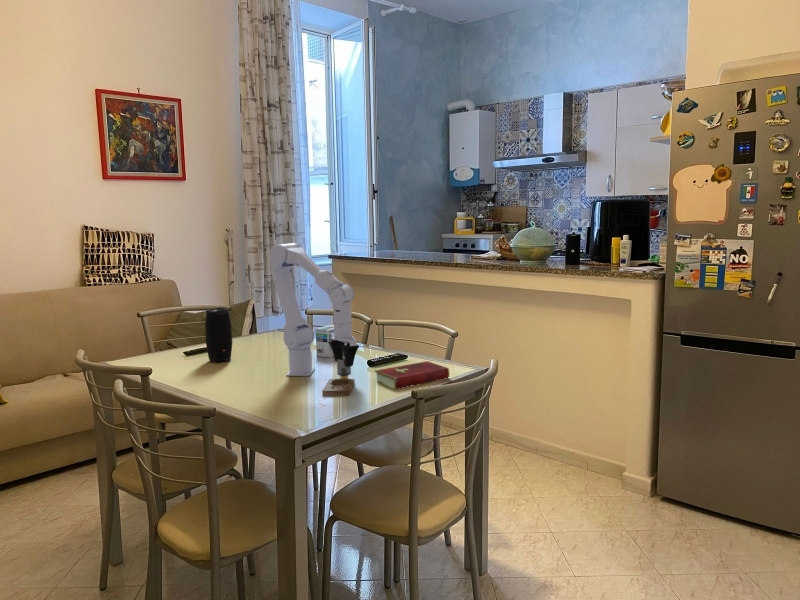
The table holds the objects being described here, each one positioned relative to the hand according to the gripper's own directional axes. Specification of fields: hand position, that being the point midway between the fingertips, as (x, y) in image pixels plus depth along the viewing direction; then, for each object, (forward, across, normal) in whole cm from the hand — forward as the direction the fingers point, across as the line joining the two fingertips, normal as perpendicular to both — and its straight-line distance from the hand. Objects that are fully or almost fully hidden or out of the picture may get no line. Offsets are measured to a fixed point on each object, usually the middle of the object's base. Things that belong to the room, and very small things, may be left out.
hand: (344, 364), depth 197 cm
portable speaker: (+5, -50, -26) cm, 56 cm away
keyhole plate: (+5, +9, -7) cm, 12 cm away
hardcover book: (+6, +13, +18) cm, 23 cm away
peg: (+5, 0, 0) cm, 5 cm away
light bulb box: (+5, -35, +12) cm, 37 cm away
